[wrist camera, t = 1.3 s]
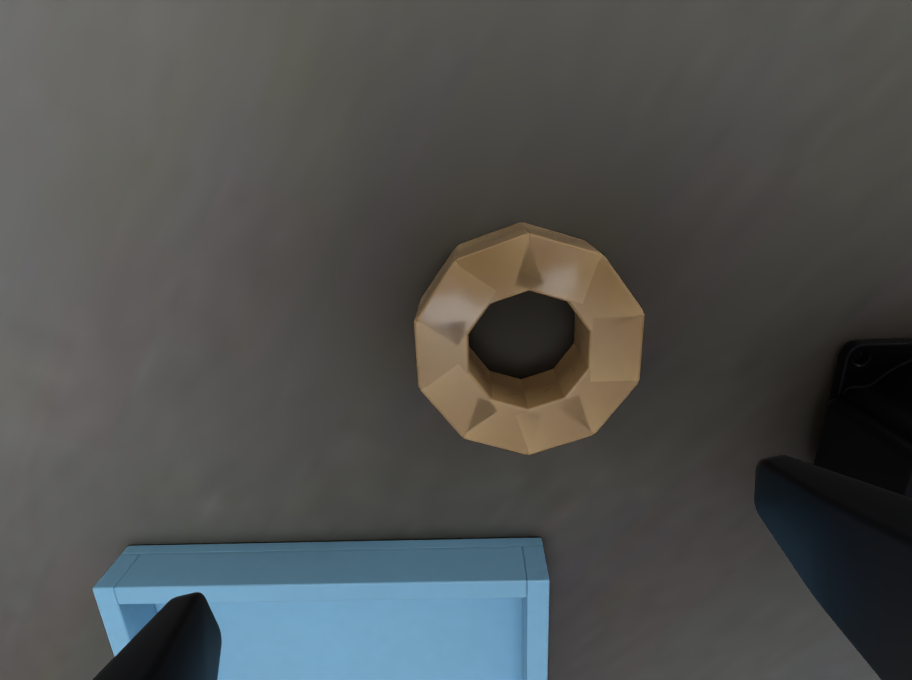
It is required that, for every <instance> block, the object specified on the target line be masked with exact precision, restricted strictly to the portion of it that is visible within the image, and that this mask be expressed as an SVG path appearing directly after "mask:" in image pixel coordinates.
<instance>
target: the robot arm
mask: <svg viewBox="0 0 912 680" xmlns="http://www.w3.org/2000/svg"><path fill="white" fill-rule="evenodd" d="M861 351H862V354H861V356H860V358H858V359H857V360H854V357H855V355H856V354H857V353H859V352H861ZM754 502H755V506H756V510H757V512H758V514H759V516H760V517H761V519H762V520H763V522H764V523H765V525H766V526H767V528H768V529H769V531H770V532H771V534H772V535H773V537H774V538H775V540H776V541H777V543H778V544H779V546H780V547H781V548H782V550H783V551H784V553H785V554H786V556H787V557H788V559H789V560H790V562H791V563H792V565H793V566H794V568H795V569H796V571H797V572H798V574H799V575H800V577H801V578H802V580H803V581H804V583H805V584H806V586H807V587H808V588H809V590H810V591H811V593H812V594H813V595H814V597H815V598H816V600H817V601H818V602H819V603H820V605H821V606H822V607H823V609H824V610H825V611H826V612H827V614H828V615H829V616H830V617H831V619H832V620H833V621H834V622H835V623H836V625H837V626H838V627H839V628H840V630H841V631H842V632H843V633H844V634H845V636H846V637H847V638H848V639H849V641H850V642H851V643H852V644H853V645H854V647H855V648H856V649H857V650H858V652H859V653H860V654H861V655H862V656H863V658H864V659H865V660H866V661H867V663H868V664H869V665H870V666H871V667H872V669H873V670H874V671H875V672H876V674H877V675H878V676H879V677H880V678H881V680H912V338H907V339H874V340H855V341H850V342H849V343H847V344H845V345H844V346H843V348H842V349H841V351H840V353H839V356H838V361H837V366H836V371H835V376H834V381H833V386H832V390H831V395H830V400H829V403H828V405H827V407H826V412H825V417H824V422H823V427H822V432H821V437H820V442H819V447H818V452H817V456H816V461H815V465H813V464H810V463H807V462H804V461H801V460H798V459H795V458H792V457H789V456H786V455H778V456H774V457H769V458H765V459H762V460H760V461H759V462H758V463H757V465H756V474H755V494H754ZM221 646H222V637H221V631H220V628H219V626H218V623H217V621H216V619H215V617H214V615H213V613H212V611H211V608H210V606H209V604H208V602H207V600H206V598H205V596H204V595H203V594H202V593H200V592H194V593H190V594H186V595H181V596H177V597H175V598H172V599H171V600H170V601H169V602H167V603H166V604H165V606H164V607H163V608H162V609H161V610H160V611H159V612H158V613H157V614H156V615H155V616H154V617H153V618H152V619H151V620H150V621H149V622H148V623H147V624H146V625H145V626H144V627H143V628H142V629H141V630H140V631H139V632H138V633H137V634H136V635H135V636H134V637H133V638H132V640H131V641H130V642H129V643H128V644H127V645H126V646H125V647H124V648H123V649H122V650H121V651H120V652H119V653H118V654H117V655H116V656H115V657H114V658H113V659H112V660H111V661H110V662H109V663H108V664H107V665H106V666H105V667H104V668H103V669H102V670H101V671H100V672H99V673H98V675H97V676H96V677H95V678H94V679H93V680H217V679H218V671H219V663H220V655H221Z"/></svg>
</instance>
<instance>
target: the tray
mask: <svg viewBox="0 0 912 680" xmlns="http://www.w3.org/2000/svg"><path fill="white" fill-rule="evenodd" d="M549 583H550V580H549V575H548V570H547V564H546V559H545V554H544V549H543V544H542V539H541V538H494V539H443V540H393V541H342V542H291V543H241V544H190V545H140V546H128V547H127V548H126V549H125V550H124V551H123V553H122V555H120V556H119V557H118V559H117V560H116V561H115V562H114V563H113V565H112V566H111V567H110V568H109V569H108V570H107V572H106V573H105V574H104V575H103V576H102V577H101V579H100V580H99V581H98V582H97V583H96V585H95V586H94V587H93V592H94V595H95V598H96V602H97V605H98V608H99V611H100V614H101V617H102V620H103V623H104V626H105V629H106V632H107V635H108V638H109V641H110V644H111V647H112V651H113V654H114V657H115V656H116V655H117V654H118V653H119V652H120V651H121V650H122V649H123V648H124V647H125V646H126V645H127V644H128V643H129V642H130V641H131V640H132V638H133V637H134V636H135V635H136V634H137V633H138V632H139V631H140V630H141V629H142V628H143V627H144V626H145V625H146V624H147V623H148V622H149V621H150V620H151V619H152V618H153V617H154V616H155V615H156V614H157V613H158V612H159V611H160V610H161V609H162V608H163V607H164V606H165V604H166V603H167V602H169V601H170V600H171V599H172V598H175V597H177V596H181V595H186V594H190V593H194V592H200V593H202V594H203V595H204V596H205V598H206V600H207V602H208V604H209V606H210V608H211V611H212V613H213V615H214V617H215V619H216V621H217V623H218V626H219V628H220V631H221V637H222V646H221V655H220V663H219V671H218V679H217V680H547V676H548V630H549Z"/></svg>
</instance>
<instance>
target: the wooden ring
mask: <svg viewBox="0 0 912 680" xmlns="http://www.w3.org/2000/svg"><path fill="white" fill-rule="evenodd" d="M526 291H532V292H536V293H539V294H543V295H546V296H550V297H553V298H557V299H561V300H564V301H567V302H568V304H569V305H570V306H571V308H572V309H573V310H574V312H575V327H574V343H573V345H572V346H571V347H570V348H569V350H568V351H567V352H566V353H565V355H564V356H563V357H562V359H561V360H560V361H559V362H558V364H557V365H556V366H555V367H554V369H551V370H548V371H545V372H542V373H539V374H536V375H533V376H530V377H527V378H524V379H518V378H515V377H511V376H507V375H504V374H500V373H496V372H492V371H489V370H488V369H487V367H486V366H485V365H484V364H483V363H482V361H481V360H480V359H479V358H478V356H477V355H476V354H475V353H474V352H473V350H472V349H471V348H470V347H469V333H470V331H471V330H472V329H473V327H474V326H475V324H476V323H477V322H478V320H479V319H480V318H481V316H482V315H483V313H484V312H485V311H486V309H487V308H488V306H489V305H490V304H492V303H494V302H497V301H500V300H503V299H506V298H509V297H512V296H515V295H517V294H520V293H523V292H526ZM644 316H645V315H644V313H643V310H642V308H641V307H640V305H639V304H638V302H637V301H636V300H635V298H634V297H633V295H632V294H631V293H630V291H629V290H628V288H627V287H626V285H625V284H624V283H623V281H622V280H621V278H620V277H619V275H618V274H617V273H616V271H615V270H614V268H613V267H612V266H611V264H610V263H609V261H608V260H607V258H606V257H605V256H604V255H603V254H601V253H600V252H599V251H598V250H596V249H595V248H594V247H593V246H591V245H590V244H589V243H588V242H586V241H585V240H582V239H579V238H576V237H572V236H569V235H565V234H562V233H558V232H555V231H552V230H548V229H545V228H541V227H538V226H534V225H531V224H528V223H524V222H522V223H521V222H519V223H516V224H513V225H511V226H508V227H505V228H503V229H500V230H497V231H494V232H492V233H489V234H486V235H483V236H481V237H478V238H475V239H472V240H470V241H467V242H464V243H462V244H459V245H457V247H455V248H454V250H453V251H452V253H451V254H450V256H449V257H448V259H447V260H446V262H445V263H444V265H443V266H442V268H441V269H440V271H439V272H438V274H437V275H436V277H435V278H434V280H433V281H432V283H431V284H430V286H429V287H428V289H427V290H426V292H425V293H424V295H423V296H422V298H421V300H420V304H419V307H418V310H417V314H416V317H415V320H414V333H415V348H416V363H417V377H418V387H419V388H420V390H421V391H422V393H423V394H424V395H425V396H426V397H427V398H428V399H429V400H430V402H431V403H432V404H433V405H434V406H435V407H436V408H437V410H438V411H439V412H440V413H441V414H442V415H443V416H444V418H445V419H446V420H447V421H448V422H449V423H450V424H451V425H452V427H453V428H454V429H455V430H456V431H457V432H458V433H459V435H460V436H462V437H463V438H464V439H467V440H471V441H475V442H479V443H483V444H486V445H490V446H494V447H498V448H502V449H506V450H510V451H513V452H517V453H521V454H525V455H527V454H529V455H530V454H534V453H537V452H540V451H543V450H547V449H550V448H553V447H556V446H560V445H563V444H566V443H569V442H573V441H576V440H579V439H583V438H586V437H589V436H592V435H593V434H595V433H596V432H597V431H598V430H599V429H600V427H601V426H602V425H603V424H604V423H605V422H606V420H607V419H608V418H609V417H610V416H611V415H612V413H613V412H614V411H615V410H616V409H617V408H618V406H619V405H620V404H621V403H622V402H623V401H624V399H625V398H626V397H627V396H628V395H629V394H630V392H631V391H632V390H633V389H634V388H635V387H636V385H637V384H638V381H639V380H640V368H641V355H642V342H643V329H644Z"/></svg>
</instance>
